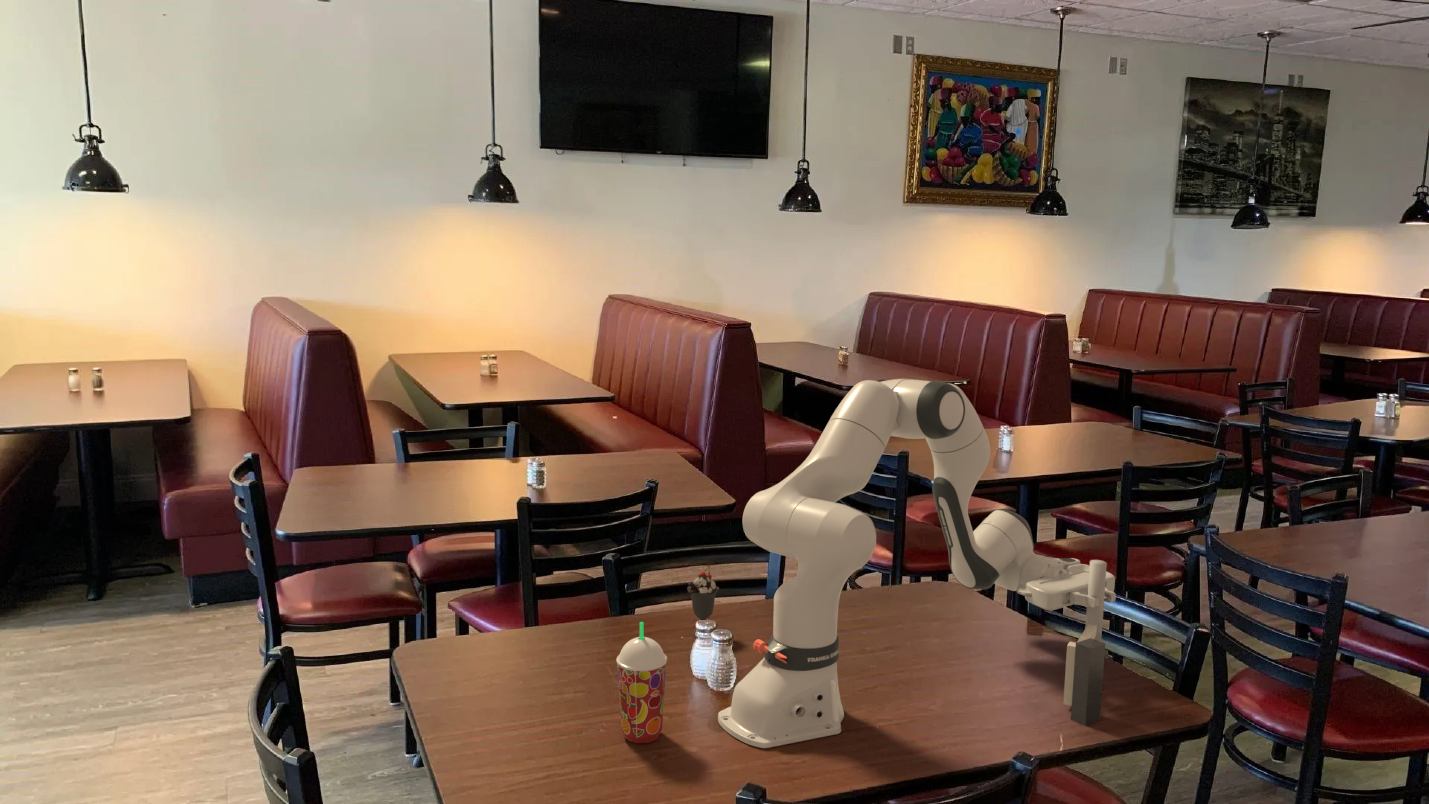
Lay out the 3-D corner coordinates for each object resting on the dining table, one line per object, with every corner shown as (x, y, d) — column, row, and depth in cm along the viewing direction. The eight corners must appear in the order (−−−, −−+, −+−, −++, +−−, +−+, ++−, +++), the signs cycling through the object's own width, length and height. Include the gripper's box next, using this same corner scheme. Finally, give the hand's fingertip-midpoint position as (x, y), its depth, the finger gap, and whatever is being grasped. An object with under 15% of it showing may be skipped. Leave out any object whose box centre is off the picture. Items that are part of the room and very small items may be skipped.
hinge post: (1085, 725, 180) (1090, 648, 178) (1070, 719, 182) (1075, 642, 180) (1099, 719, 182) (1105, 643, 180) (1085, 713, 184) (1090, 638, 182)
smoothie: (620, 724, 179) (619, 613, 176) (668, 725, 179) (668, 613, 176) (614, 747, 171) (613, 631, 168) (664, 748, 171) (664, 632, 167)
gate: (1077, 707, 185) (1085, 593, 181) (1060, 703, 186) (1067, 590, 183) (1100, 665, 202) (1108, 561, 199) (1084, 662, 204) (1091, 558, 201)
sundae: (720, 629, 222) (720, 561, 220) (717, 641, 216) (717, 571, 213) (689, 627, 223) (689, 560, 220) (685, 639, 216) (685, 570, 214)
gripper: (1012, 573, 203) (1071, 594, 192) (1079, 556, 215) (1138, 575, 203) (1010, 604, 205) (1068, 627, 193) (1077, 585, 216) (1136, 606, 204)
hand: (1105, 600), depth 198 cm, fingers open, 3 cm apart
